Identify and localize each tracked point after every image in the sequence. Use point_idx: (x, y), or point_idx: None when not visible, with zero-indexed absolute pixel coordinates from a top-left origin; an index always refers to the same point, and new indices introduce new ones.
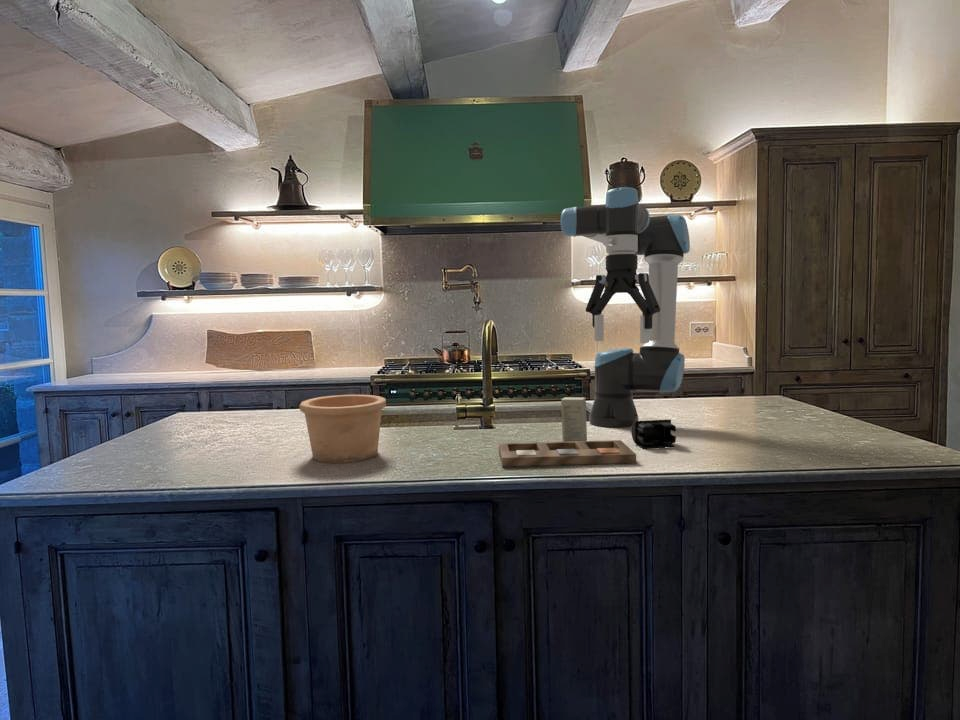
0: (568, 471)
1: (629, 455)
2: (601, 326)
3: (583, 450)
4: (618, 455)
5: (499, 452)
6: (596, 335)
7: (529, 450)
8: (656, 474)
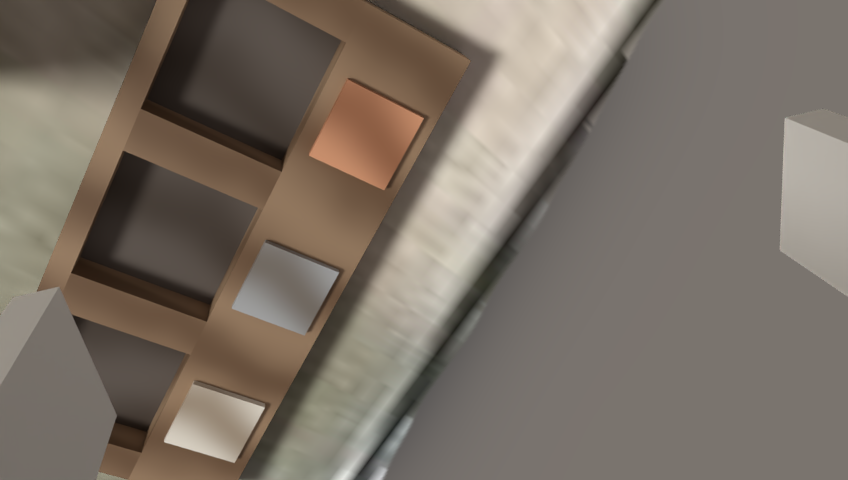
0: (389, 325)
1: (455, 87)
2: (10, 477)
3: (286, 209)
4: (430, 130)
5: None
6: (94, 471)
7: (192, 402)
8: (607, 90)
